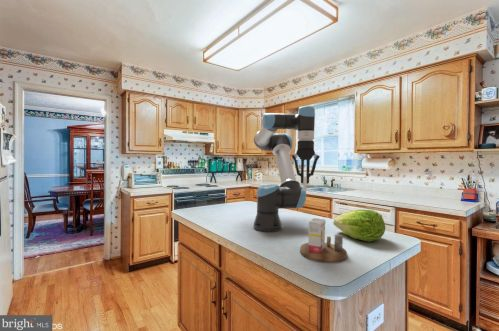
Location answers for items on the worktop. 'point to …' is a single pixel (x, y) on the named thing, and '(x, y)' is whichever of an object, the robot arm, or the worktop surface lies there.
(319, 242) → the ink box
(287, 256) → the worktop surface
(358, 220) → the lettuce
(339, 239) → the disc
